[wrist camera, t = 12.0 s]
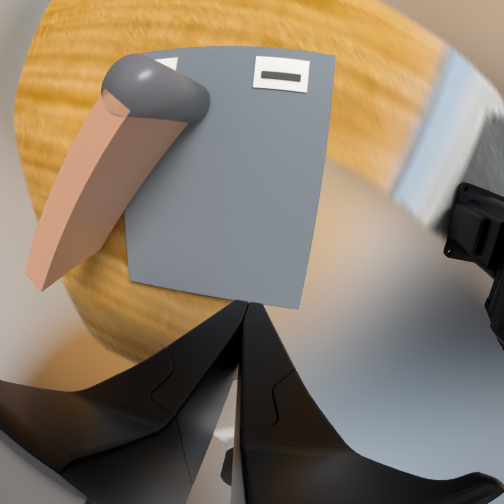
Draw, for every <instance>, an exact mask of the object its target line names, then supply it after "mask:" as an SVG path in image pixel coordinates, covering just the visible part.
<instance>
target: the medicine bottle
mask: <svg viewBox="0 0 504 504" xmlns="http://www.w3.org/2000/svg"><path fill="white" fill-rule="evenodd" d="M236 394H237V379H235V380H233V383H232V386H231V388H230V391H229V394H228V396H227V399H226V402H225V404H224V407H223V410H222V412H221V415H220V418H219V420H218V423H217V425H216V428H215V431H214V433H213V435H214V436H216V437H217V438H218V439H219V440H221V441H222V442H223V443H224V444H226V445H227V446H228V447H227V451H226V455H225V459H224V463H223V468H222V471H221V478H222V479H223V481H224V482H225V483H226V484H228V485H230V486H232V466H233V447H234V429H235V411H236Z"/></svg>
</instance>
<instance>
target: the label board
mask: <svg viewBox="0 0 504 504" xmlns="http://www.w3.org/2000/svg"><path fill="white" fill-rule="evenodd" d="M140 54H142V55H145V56H147V57H149V58H151V59H153V60H155V61H158V62H160V63H162V64H164V65H166V66H167V67H169V68H171V69H173V70H175V71H177V72H179V73H181V74H183V75H185V76H186V77H188V78H190V79H192V80H194V81H196V82H197V83H199V84H201V85H202V86H204V87H205V88H206V89H207V91H208V92H209V95H210V106H209V109H208V111H207V113H206V114H205V115H204V116H203V117H202V118H201V119H200V120H198V121H196V122H193V123H189V124H188V125H187V126H186V127H185V128H184V130H183V131H182V132H181V133H180V135H179V136H178V137H177V138H176V139H175V141H174V142H173V143H172V144H171V146H170V147H169V148H168V150H167V151H166V152H165V153H164V155H163V156H162V157H161V159H160V160H159V161H158V163H157V164H156V165H155V167H154V168H153V169H152V171H151V172H150V174H149V175H148V176H147V178H146V179H145V181H144V182H143V183H142V185H141V186H140V188H139V189H138V191H137V192H136V194H135V195H134V196H133V198H132V199H131V201H130V202H129V204H128V206H127V207H126V209H125V210H124V213H125V231H126V245H127V257H128V267H129V276H130V281H135V282H139V283H144V284H149V285H154V286H159V287H164V288H169V289H174V290H180V291H185V292H190V293H196V294H202V295H207V296H213V297H219V298H225V299H231V300H243V301H248V302H256V303H262V304H263V305H270V306H278V307H285V308H292V309H299V305H300V299H301V295H302V290H303V285H304V281H305V276H306V270H307V265H308V260H309V254H310V250H311V244H312V239H313V233H314V227H315V221H316V215H317V209H318V203H319V196H320V190H321V183H322V176H323V169H324V162H325V154H326V146H327V138H328V130H329V121H330V111H331V101H332V91H333V79H334V66H335V56H333V55H328V54H322V53H316V52H309V51H301V50H293V49H283V48H270V47H251V46H210V47H191V48H179V49H169V50H161V51H153V52H147V53H140Z"/></svg>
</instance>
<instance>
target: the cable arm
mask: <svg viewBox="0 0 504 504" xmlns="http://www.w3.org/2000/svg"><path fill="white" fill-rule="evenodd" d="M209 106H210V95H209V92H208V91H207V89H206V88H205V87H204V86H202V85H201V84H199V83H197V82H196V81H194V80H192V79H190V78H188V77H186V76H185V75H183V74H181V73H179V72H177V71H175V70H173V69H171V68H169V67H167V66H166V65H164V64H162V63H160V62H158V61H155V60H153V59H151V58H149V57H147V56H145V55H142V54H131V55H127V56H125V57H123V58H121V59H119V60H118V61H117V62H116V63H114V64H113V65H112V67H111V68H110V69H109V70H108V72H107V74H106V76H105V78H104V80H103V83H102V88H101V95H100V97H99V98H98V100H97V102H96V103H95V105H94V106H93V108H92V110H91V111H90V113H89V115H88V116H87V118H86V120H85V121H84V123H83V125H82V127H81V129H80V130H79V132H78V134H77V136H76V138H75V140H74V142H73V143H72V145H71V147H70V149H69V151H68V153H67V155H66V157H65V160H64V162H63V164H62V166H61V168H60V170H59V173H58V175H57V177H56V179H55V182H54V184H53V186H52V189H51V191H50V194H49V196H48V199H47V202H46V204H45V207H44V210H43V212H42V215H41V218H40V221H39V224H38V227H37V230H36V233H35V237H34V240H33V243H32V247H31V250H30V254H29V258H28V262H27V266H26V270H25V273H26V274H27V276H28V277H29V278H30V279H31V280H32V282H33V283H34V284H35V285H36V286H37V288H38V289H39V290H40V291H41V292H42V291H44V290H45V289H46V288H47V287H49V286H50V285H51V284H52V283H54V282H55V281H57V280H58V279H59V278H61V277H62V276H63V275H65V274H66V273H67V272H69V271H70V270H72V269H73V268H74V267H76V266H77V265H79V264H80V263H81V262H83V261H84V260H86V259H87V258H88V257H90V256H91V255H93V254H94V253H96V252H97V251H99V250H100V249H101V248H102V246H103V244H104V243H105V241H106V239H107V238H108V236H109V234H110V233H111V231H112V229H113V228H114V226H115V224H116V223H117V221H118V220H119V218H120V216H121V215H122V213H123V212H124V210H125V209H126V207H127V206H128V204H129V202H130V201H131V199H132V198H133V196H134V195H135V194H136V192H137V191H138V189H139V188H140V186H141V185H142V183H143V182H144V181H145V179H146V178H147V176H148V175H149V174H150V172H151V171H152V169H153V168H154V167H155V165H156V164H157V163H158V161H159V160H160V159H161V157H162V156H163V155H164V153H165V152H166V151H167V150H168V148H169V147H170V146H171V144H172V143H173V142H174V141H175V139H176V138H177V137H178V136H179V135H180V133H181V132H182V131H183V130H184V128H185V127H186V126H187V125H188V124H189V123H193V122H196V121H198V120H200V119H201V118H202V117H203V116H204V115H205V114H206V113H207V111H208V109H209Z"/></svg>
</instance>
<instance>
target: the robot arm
mask: <svg viewBox="0 0 504 504" xmlns="http://www.w3.org/2000/svg"><path fill="white" fill-rule="evenodd" d="M465 186H466V190H465V191H464V187H465ZM449 250H450V252H449V253H448V251H449ZM444 254H445V256H447V257H448V258H453V259H459V260H464V261H469V262H474V263H476V264H477V265H478V266H479V267H480V268H481V269H482V270H484V271H485V272H486V273H487V274H488V275H489V276H490V277H491V278H493V279H494V282H493V285H492V289H491V291H490V294H489V297H488V298H487V299H486V302H485V305H484V306H485V308H486V311H487V313H488V316H489V318H490V321H491V325H490V327H491V329H492V331H493V332H494V334H495V335H496V337H497V340H498V341H499V343H500V345H501V346H502V349H503V350H504V197H502V196H500V195H497V194H495V193H492V192H490V191H487V190H485V189H482V188H480V187H477V186H474V185H472V184H469V183H466V182H462V183H461V184H460V187H459V192H458V197H457V201H456V205H455V208H454V212H453V217H452V221H451V224H450V228H449V232H448V237H447V241H446V244H445V247H444ZM238 365H239V366H238ZM237 369H238V377H237V394H236V411H235V429H234V447H233V466H232V486H231V504H488V503H489V502H491V501H493V500H494V499H496V498H497V497H498V496H500V495H501V494H502V493H504V485H503V483H502V482H500V481H499V480H498V479H496V478H494V477H492V476H489V475H486V474H483V473H480V472H473V473H470V474H467V475H464V476H461V477H458V478H455V479H450V480H432V479H426V478H422V477H419V476H415V475H412V474H409V473H406V472H403V471H400V470H397V469H394V468H392V467H389V466H386V465H383V464H381V463H378V462H375V461H373V460H371V459H368V458H366V457H363V456H361V455H359V454H358V453H356V452H355V451H354V450H352V449H351V448H350V447H349V446H348V445H347V444H346V443H345V442H344V440H343V439H342V438H341V437H340V435H339V434H338V433H337V432H336V430H335V429H334V427H333V426H332V425H331V423H330V422H329V421H328V419H327V418H326V417H325V415H324V414H323V413H322V411H321V410H320V409H319V407H318V406H317V404H316V403H315V401H314V400H313V398H312V397H311V396H310V394H309V392H308V391H307V389H306V387H305V386H304V384H303V382H302V380H301V378H300V376H299V374H298V372H297V371H296V369H295V367H294V365H293V363H292V361H291V359H290V357H289V356H288V353H287V351H286V349H285V347H284V345H283V343H282V342H281V339H280V337H279V335H278V334H277V332H276V329H275V327H274V326H273V324H272V322H271V320H270V318H269V316H268V314H267V312H266V310H265V308H264V306H263V304H262V303H256V302H250V303H248V301H243V300H234V301H233V302H231V303H230V304H229V305H227V306H226V307H224V308H223V309H221V310H220V311H218V312H217V313H216V314H214V315H213V316H211V317H210V318H208V319H207V320H205V321H204V322H202V323H201V324H200V325H198V326H197V327H195V328H194V329H192V330H191V331H189V332H188V333H186V334H185V335H183V336H182V337H180V338H179V339H177V340H176V341H174V342H173V343H171V344H170V345H168V346H167V348H164V349H162V350H161V351H159V352H158V353H156V354H154V355H153V356H151V357H149V358H148V359H146V360H145V361H143V362H141V363H139V364H137V365H135V366H133V367H132V368H130V369H128V370H126V371H124V372H122V373H120V374H117V375H115V376H113V377H111V378H109V379H107V380H105V381H103V382H101V383H98V384H96V385H94V386H92V387H89V388H87V389H84V390H80V391H74V392H65V391H57V390H49V389H42V388H36V387H31V386H25V385H20V384H15V383H10V382H6V381H1V380H0V504H185V503H186V501H187V498H188V496H189V494H190V491H191V489H192V485H193V484H194V481H195V479H196V476H197V474H198V471H199V469H200V466H201V464H202V461H203V459H204V456H205V454H206V451H207V449H208V446H209V444H210V441H211V438H212V436H213V433H214V431H215V428H216V425H217V423H218V420H219V418H220V415H221V412H222V410H223V407H224V404H225V402H226V399H227V396H228V394H229V391H230V388H231V386H232V383H233V380H234V377H235V375H236V372H237Z"/></svg>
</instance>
